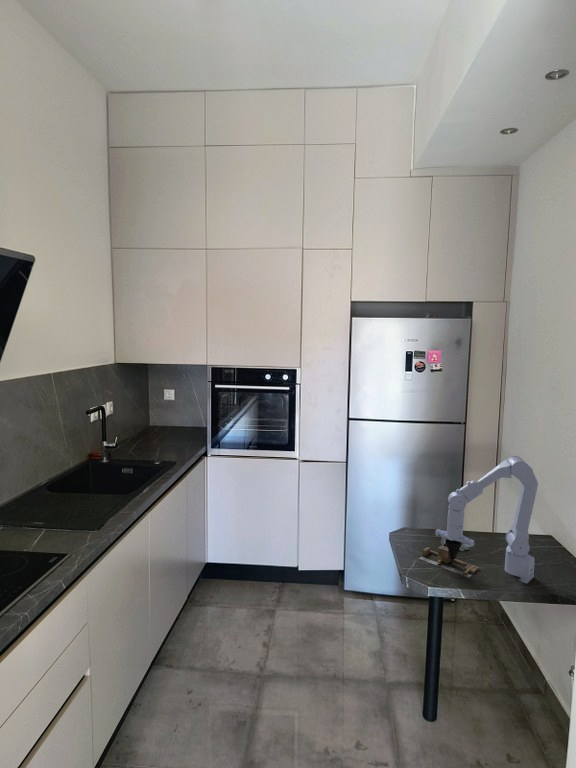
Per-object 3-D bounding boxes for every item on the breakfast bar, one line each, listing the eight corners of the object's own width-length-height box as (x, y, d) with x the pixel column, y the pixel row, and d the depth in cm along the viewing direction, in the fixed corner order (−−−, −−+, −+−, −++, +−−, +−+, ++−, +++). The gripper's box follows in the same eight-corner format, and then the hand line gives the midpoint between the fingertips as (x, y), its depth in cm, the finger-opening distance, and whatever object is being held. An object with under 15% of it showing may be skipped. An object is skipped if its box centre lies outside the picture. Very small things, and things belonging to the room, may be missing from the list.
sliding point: (450, 561, 186) (451, 548, 186) (443, 566, 182) (443, 553, 181) (441, 557, 189) (441, 545, 189) (433, 562, 184) (434, 550, 184)
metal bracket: (446, 542, 194) (438, 527, 209) (441, 555, 195) (434, 539, 209) (481, 554, 193) (471, 538, 208) (476, 567, 194) (466, 551, 209)
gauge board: (482, 573, 180) (482, 564, 179) (470, 582, 173) (471, 573, 172) (428, 554, 195) (428, 545, 195) (415, 561, 188) (415, 552, 188)
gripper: (432, 521, 185) (430, 555, 186) (469, 532, 175) (467, 568, 176) (441, 516, 190) (439, 550, 191) (477, 527, 180) (475, 562, 181)
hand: (453, 558), depth 184 cm, fingers closed
